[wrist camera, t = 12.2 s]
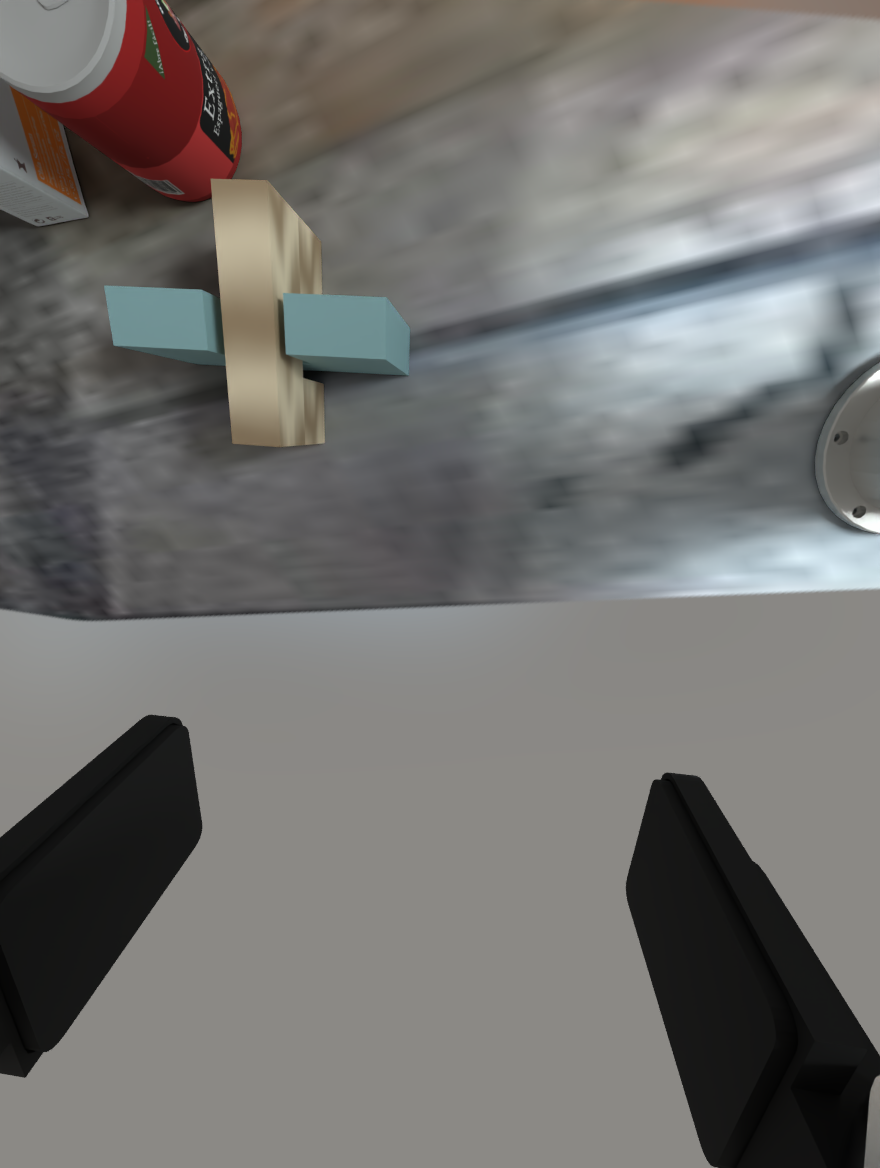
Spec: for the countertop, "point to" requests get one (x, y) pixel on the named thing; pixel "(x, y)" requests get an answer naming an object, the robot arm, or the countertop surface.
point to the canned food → (126, 87)
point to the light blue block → (312, 325)
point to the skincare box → (35, 164)
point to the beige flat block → (265, 313)
